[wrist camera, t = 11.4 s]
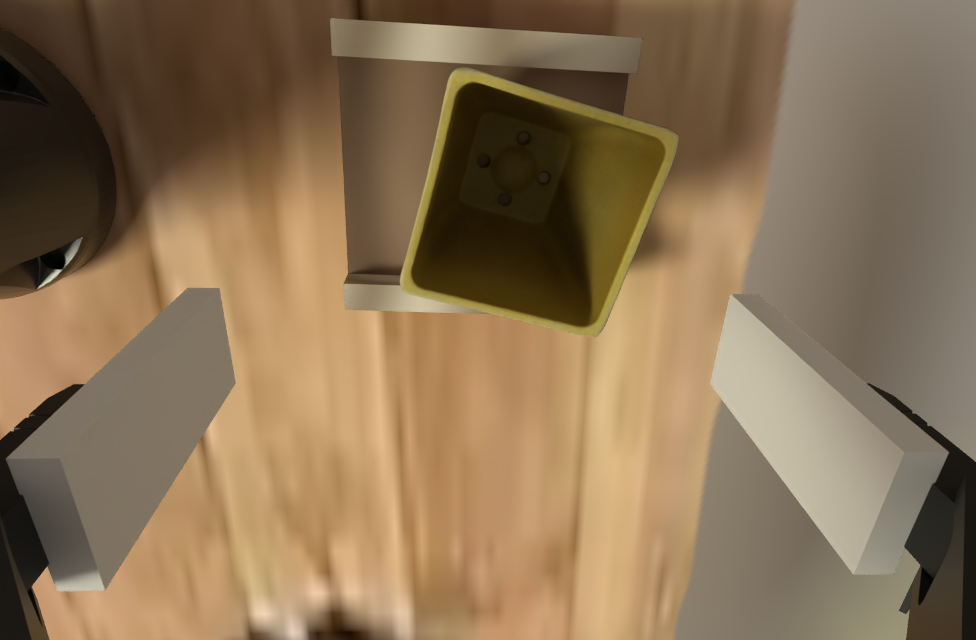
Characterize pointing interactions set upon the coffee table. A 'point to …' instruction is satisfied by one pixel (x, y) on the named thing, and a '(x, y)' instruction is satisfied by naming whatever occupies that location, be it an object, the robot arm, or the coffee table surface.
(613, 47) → the display stand
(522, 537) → the coffee table surface
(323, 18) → the coffee table surface
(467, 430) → the coffee table surface
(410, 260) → the flower pot
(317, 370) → the coffee table surface
